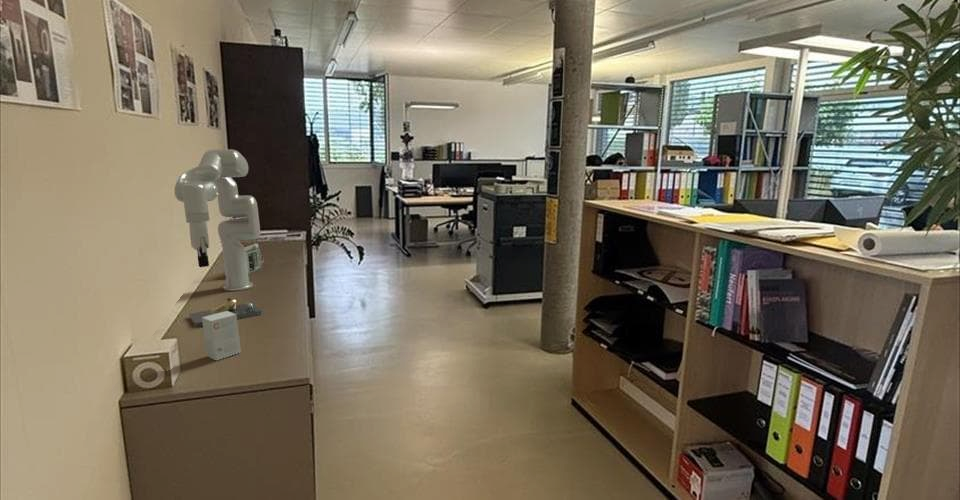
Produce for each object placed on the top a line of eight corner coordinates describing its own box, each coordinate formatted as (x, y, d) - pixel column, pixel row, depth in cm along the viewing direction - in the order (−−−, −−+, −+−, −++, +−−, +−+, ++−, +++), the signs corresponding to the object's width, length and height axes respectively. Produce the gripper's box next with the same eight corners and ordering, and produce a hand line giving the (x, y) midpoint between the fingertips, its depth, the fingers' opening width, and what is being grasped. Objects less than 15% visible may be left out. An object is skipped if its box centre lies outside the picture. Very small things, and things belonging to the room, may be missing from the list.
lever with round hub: (207, 320, 194) (206, 308, 194) (228, 307, 209) (227, 296, 208) (219, 319, 194) (218, 308, 193) (239, 307, 209) (238, 296, 208)
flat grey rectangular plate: (189, 317, 203) (188, 307, 203) (252, 305, 217) (251, 296, 216) (195, 327, 192) (194, 316, 191) (261, 314, 205) (260, 304, 205)
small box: (232, 348, 171) (227, 310, 169) (241, 353, 167) (236, 314, 165) (206, 356, 165) (201, 316, 163) (215, 361, 161) (210, 321, 159)
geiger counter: (237, 250, 261) (266, 241, 285) (225, 250, 262) (256, 241, 286) (240, 278, 264) (269, 266, 288) (228, 277, 265) (258, 266, 289)
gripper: (183, 216, 196) (189, 264, 200) (189, 221, 185) (196, 271, 189) (205, 214, 201) (211, 261, 205) (212, 218, 189) (219, 268, 193)
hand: (204, 266), depth 197 cm, fingers closed
